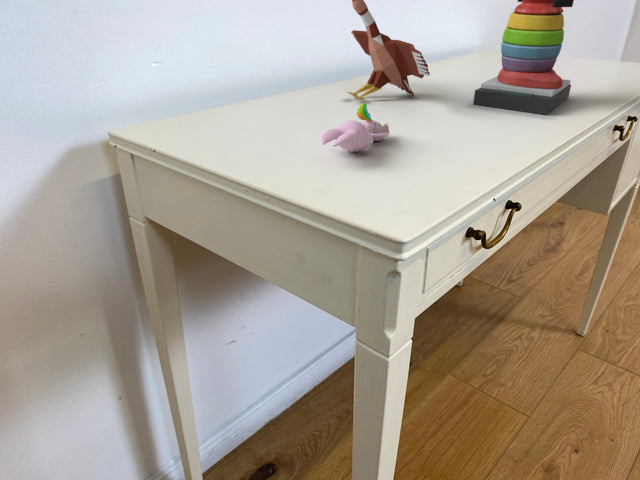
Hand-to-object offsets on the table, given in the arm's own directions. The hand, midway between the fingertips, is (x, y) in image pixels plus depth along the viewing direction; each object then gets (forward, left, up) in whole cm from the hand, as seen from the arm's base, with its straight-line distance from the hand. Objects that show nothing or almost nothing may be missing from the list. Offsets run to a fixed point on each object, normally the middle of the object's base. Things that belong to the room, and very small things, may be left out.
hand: (542, 4), depth 80 cm
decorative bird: (+4, +25, -15) cm, 29 cm away
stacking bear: (0, 0, -12) cm, 12 cm away
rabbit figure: (-25, +32, -15) cm, 44 cm away
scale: (0, +1, -15) cm, 15 cm away
